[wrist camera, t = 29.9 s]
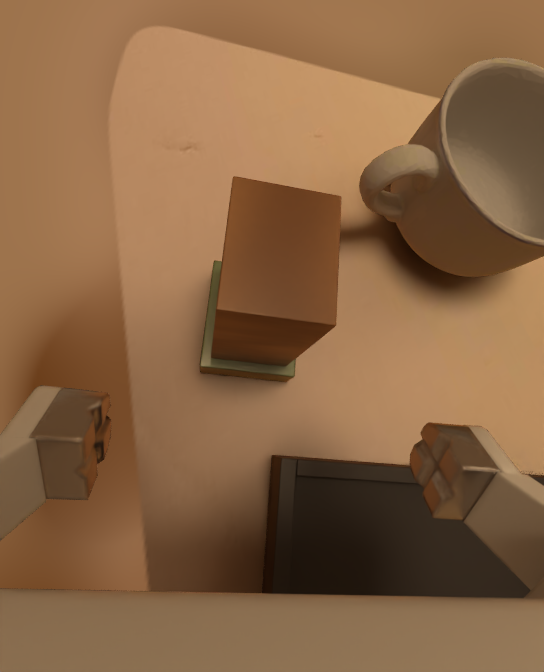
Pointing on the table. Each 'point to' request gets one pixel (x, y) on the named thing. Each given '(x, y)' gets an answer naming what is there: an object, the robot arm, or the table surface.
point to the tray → (370, 536)
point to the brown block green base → (272, 280)
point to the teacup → (471, 173)
